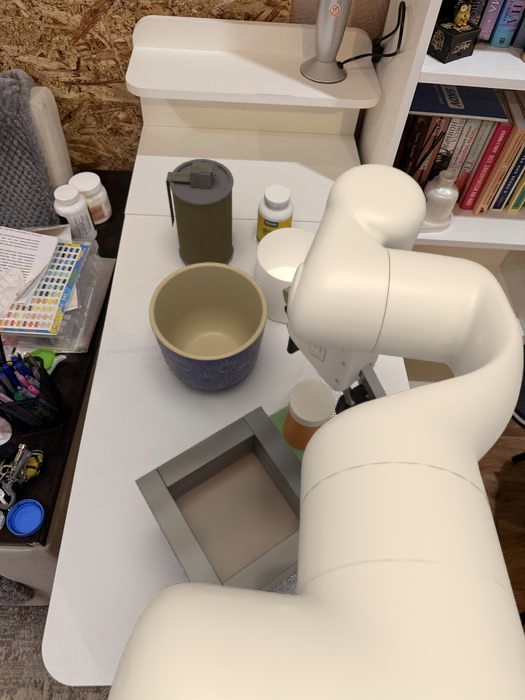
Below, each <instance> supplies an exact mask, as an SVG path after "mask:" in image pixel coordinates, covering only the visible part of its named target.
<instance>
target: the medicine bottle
mask: <svg viewBox="0 0 525 700" xmlns="http://www.w3.org/2000/svg"><path fill="white" fill-rule="evenodd" d="M288 405H289V406H288V411H287V415H286V419H285V423H284V427H283V435H284V438H285V440H286V441H287V443H288V444H289V445H290V446H292V447H293V448H295V449H298V450H305V449H306V446H307V444H308V442H309V441H310V439H311V437H312V436H313V434H314V433H315V432H316V431H317V430H318V429H319V428H320V427H321V426H322V425H323V424H324V423H326V422H327V421H328V419H329V420H330V419H331V416H332V414H333V412H334V411H335V410H334V409H335V407H336V399H335V396H334V393H333V392H332V390H331V388H329V387H328V386H327V385H325V384H324V383H322V382H321V381H318V380H304V381H301V382H299V383H298V384H296V385H295V386H294V387H293V388H292V390H291V392H290V394H289V399H288Z"/></svg>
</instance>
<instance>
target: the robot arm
mask: <svg viewBox="0 0 525 700" xmlns="http://www.w3.org/2000/svg"><path fill="white" fill-rule="evenodd" d="M426 216H427V201H426V196H425V194H424V192H423V189H422V187H421V186H420V185H419V182H417V181H416V180H415V179H414V178H413V177H412V176H411V175H409V174H408V173H406V172H404V171H402V170H401V169H398V168H396V167H393V166H390V165H386V164H381V163H380V164H379V163H368V164H360V165H356V166H354V167H351V168H349V169H347V170H346V171H345V172H343V173H342V174H341V175H339V176H338V177H337V179H336V180H335V181H334V182H333V183H332V185H331V187H330V189H329V192H328V196H327V199H326V203H325V207H324V212H323V215H322V216H321V220H320V222H319V225H318V228H317V231H316V233H315V234H314V235H315V237H314V240H313V242H312V245H311V247H310V249H309V251H308V254H307V256H306V258H305V260H304V262H302V263H301V264H300V265H299V266H298V268H297V270H296V272H295V274H294V278H293V281H292V284H291V286H289V287H287V288H285V289H283V296H284V301H285V303H286V306H285V312H286V314H287V316H288V319H289V320H288V323H286V328H287V333H288V340H287V347H286V352H287V353H288V354H289V355H293V354H295V353H297V352H298V351H300V353H301V354H302V355H303V356H304V357H305V359H306V360H307V361H308V362H309V364H310V365H311V366H312V367H313V369H314V370H315V372H317V373H318V375H319V376H320V377H321V378H322V379H323V381H324V382H325V383H326V384H327V385H328V386H329V387H330V389H332V390H333V391H336V392H339V393H340V392H341V393H342V395H339V397H338V400H337V402H336V403H335V406H334V410H333V411H334V413H335V414H336V415H334V416H332V417H330V418H329V420H328V421H327V422H326V423H324V424H323V425H322V426H321V427H320V428H319V429H318V430H317V431H316V432H315V433H314V434H313V436H312V437H311V439H310V441H309V442H308V444H307V446H306V449H305V451H304V454H303V458H302V466H301V494H300V529H299V550H298V571H297V572H296V594H288V593H279V592H272V591H270V592H266V591H259V590H251V589H244V588H237V587H229V586H222V585H215V584H207V583H198V582H190V581H182V582H178V583H175V584H171V585H169V586H167V587H166V588H164V589H162V590H160V592H158V593H157V594H156V595H155V596H154V597H153V598H152V599H151V600H150V601H149V602H148V603H147V605H146V606H145V608H144V610H143V611H142V612H141V613H140V615H139V617H138V619H137V621H136V623H135V625H134V627H133V628H132V630H131V633H130V634H129V637H128V639H127V642H126V643H125V646H124V649H123V651H122V654H121V657H120V659H119V661H118V664H117V667H116V671H115V674H114V678H113V680H112V683H111V687H110V690H109V693H108V697H107V699H106V700H525V632H524V628H523V625H522V620H521V617H520V614H519V610H518V606H517V602H516V599H515V595H514V592H513V588H512V584H511V579H510V577H509V573H508V569H507V566H506V562H505V558H504V554H503V551H502V547H501V543H500V539H499V536H498V532H497V528H496V525H495V521H494V517H493V513H492V509H491V505H490V502H489V498H488V494H487V491H486V488H485V485H484V482H483V478H482V475H481V471H480V467H479V461H481V459H483V457H484V456H485V455H486V454H487V453H488V452H489V451H490V449H491V448H493V446H494V445H495V444H496V442H497V441H498V440H499V438H500V437H501V436H502V434H503V433H504V431H505V430H506V428H507V426H508V425H509V423H510V420H511V418H513V417H512V416H513V415H514V412H515V409H516V407H517V403H518V400H519V397H520V391H521V387H522V383H523V382H522V381H523V375H524V374H523V373H524V340H523V339H524V338H523V333H522V331H521V328H520V324H519V321H518V319H517V316H516V314H515V313H514V310H513V308H512V306H511V303H510V301H509V299H508V297H507V295H506V292H505V291H504V289H503V287H502V286H501V284H500V282H499V281H498V279H497V278H496V276H494V274H493V273H492V272H491V271H490V270H489V269H488V268H486V267H485V266H483V265H482V264H480V263H478V262H476V261H474V260H471V259H467V258H462V257H455V256H449V255H443V254H438V253H437V254H436V253H430V252H421V251H415V250H413V249H414V246H415V243H416V241H417V239H418V237H419V235H420V232H421V230H422V229H423V224H424V222H425V219H426ZM379 355H381V356H387V357H397V358H403V359H404V358H405V359H412V360H417V361H425V362H433V363H440V364H444V365H446V366H448V367H449V368H450V370H451V371H452V374H453V376H454V377H452V378H451V377H450V378H447V379H444V380H440V381H436V382H433V383H432V382H431V383H429V384H424V385H420V386H416V387H413V388H410V389H406V390H402V391H399V392H395V393H391V394H387V393H386V391H385V389H384V387H383V385H382V383H381V382H380V379H379V377H378V376H377V374H376V372H375V370H374V367H375V366H376V363H377V361H378V358H379ZM355 382H357V385H355V386H354V387H352V386H353V384H354V383H355Z"/></svg>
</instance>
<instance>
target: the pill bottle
mask: <svg viewBox="0 0 525 700" xmlns="http://www.w3.org/2000/svg"><path fill="white" fill-rule="evenodd" d="M263 193H264V194H263V197H262V198H261V199H260V200H259V202H258V205H257V221H256V239H257V242H258V243H259V242H260V241H261V240H262V238H263V237H265V236H266V235H267V234H268V233H270V232H272V231H274V230H278V229H281V228H292V222H293V215H294V204H293V202H292V200H291V196H292V195H291V191H290V189H289V188H288V187H287V186H285V185H284V184H279V183H275V184H270V185H268V186H267V187H266V188H265V190H264V192H263Z"/></svg>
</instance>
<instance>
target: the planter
mask: <svg viewBox="0 0 525 700" xmlns="http://www.w3.org/2000/svg"><path fill="white" fill-rule="evenodd" d="M149 301H150V302H149V306H148V318H149V324H150V326H151V329H152V332H153V335H154V337H155V340H156V341H157V344H158V346H159V349H160V352H161V354H162V357H163V359H164V362H165V363H166V365H167V367H168V368H169V370H170V371H171V372H172V374H173V375H174V376H175V377H176V378H178V379H179V380H180V381H182V382H183V383H184V384H185V385H188V386H190V387H192V388H195V389H199V390H204V391H217V390H223V389H225V388H229V387H231V386H233V385H235V384H237V383H238V382H240V381H241V380H243V379H244V378H245V377H246V376H247V375H248V373H249V372H250V371H251V370H252V368H253V367H254V365H255V363H256V362H257V359H258V357H259V353H260V349H261V345H262V341H263V336H264V333H265V327H266V323H267V320H268V318H267V312H268V311H267V302H266V298H265V295H264V293H263V291H262V289H261V288H260V286H259V285H258V284H257V282H256V281H255V278H253V277H252V276H251V275H249V274H248V273H246V272H245V271H243V270H241V269H240V268H237V267H236V266H233V265H230V264H227V265H226V264H222V263H213V262H205V263H197V264H192V265H188V266H186V265H185V266H183V267H180V268H178V269H177V270H174V271H173V272H172V273H170V274H168V275H167V276H166V277H165V278H164V279H163V280H162V281H161V282H160V283H159V284H158V285H157V287H156V288H155V290H154V291H153V294H152V296H151V299H150V300H149Z"/></svg>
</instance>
